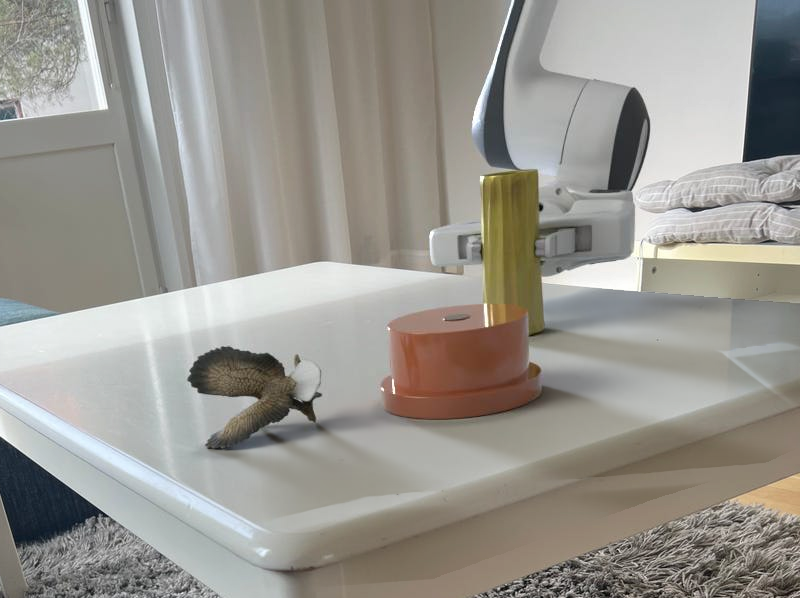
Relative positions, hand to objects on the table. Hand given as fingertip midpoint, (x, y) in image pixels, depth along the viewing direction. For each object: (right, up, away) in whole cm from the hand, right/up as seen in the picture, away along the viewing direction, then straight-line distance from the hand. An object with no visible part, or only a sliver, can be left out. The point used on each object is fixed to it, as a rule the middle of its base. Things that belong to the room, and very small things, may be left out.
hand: (508, 250), depth 92 cm
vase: (+1, -7, +4) cm, 8 cm away
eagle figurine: (-22, -21, -17) cm, 35 cm away
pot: (-7, -18, -15) cm, 24 cm away
